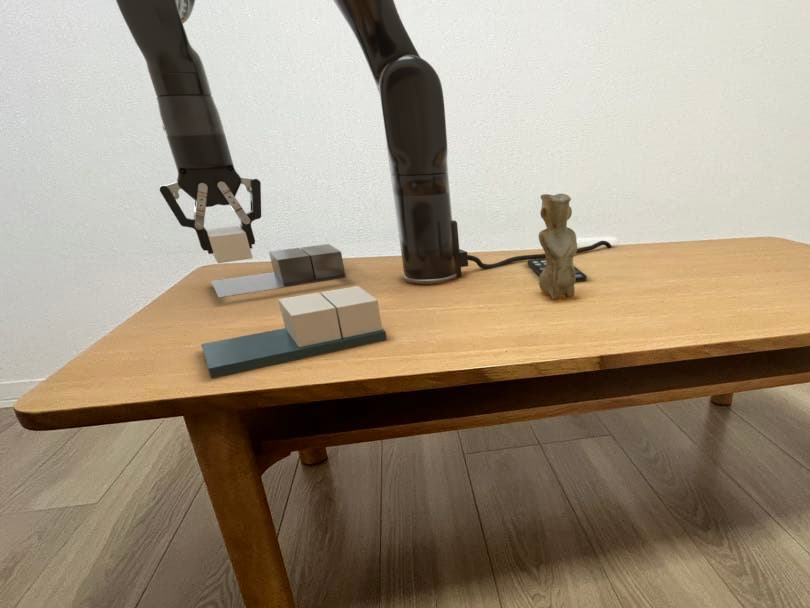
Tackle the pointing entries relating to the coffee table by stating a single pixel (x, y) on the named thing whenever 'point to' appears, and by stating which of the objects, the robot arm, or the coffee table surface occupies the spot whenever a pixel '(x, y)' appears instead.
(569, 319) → the coffee table surface
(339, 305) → the teal base board
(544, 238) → the sculpture
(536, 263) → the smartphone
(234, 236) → the beige block
